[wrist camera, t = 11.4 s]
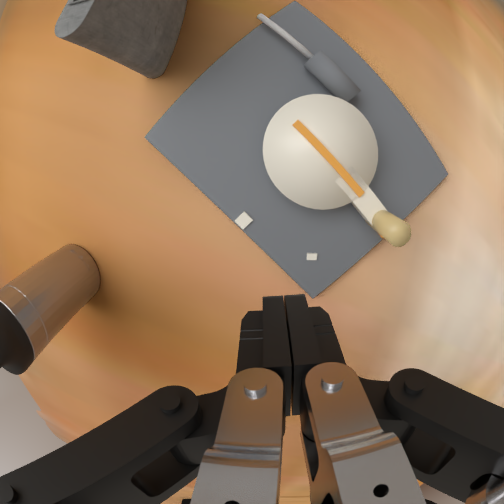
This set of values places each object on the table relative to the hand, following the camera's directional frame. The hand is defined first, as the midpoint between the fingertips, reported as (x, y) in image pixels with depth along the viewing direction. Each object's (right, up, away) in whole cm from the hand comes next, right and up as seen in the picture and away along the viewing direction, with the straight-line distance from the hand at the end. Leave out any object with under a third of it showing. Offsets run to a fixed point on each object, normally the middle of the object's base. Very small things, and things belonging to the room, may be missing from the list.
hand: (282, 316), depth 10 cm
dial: (+8, +11, +18) cm, 23 cm away
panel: (+5, +15, +19) cm, 25 cm away
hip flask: (-12, +31, +14) cm, 36 cm away
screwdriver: (+6, +24, +14) cm, 29 cm away
